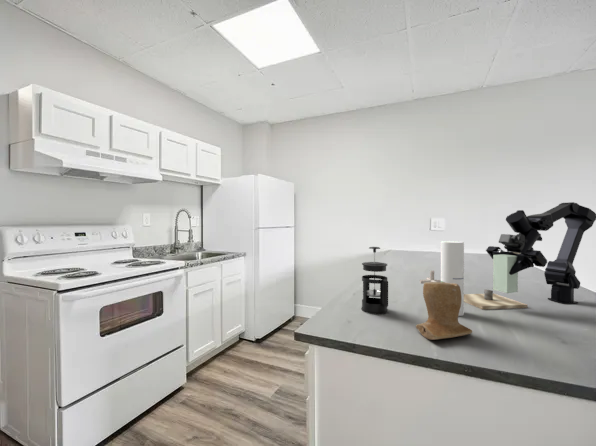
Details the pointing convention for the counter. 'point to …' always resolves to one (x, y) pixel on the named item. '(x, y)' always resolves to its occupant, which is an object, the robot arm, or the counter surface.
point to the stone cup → (442, 311)
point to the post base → (492, 301)
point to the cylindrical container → (453, 266)
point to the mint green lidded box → (504, 273)
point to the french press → (374, 303)
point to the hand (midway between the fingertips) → (502, 272)
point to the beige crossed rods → (430, 278)
